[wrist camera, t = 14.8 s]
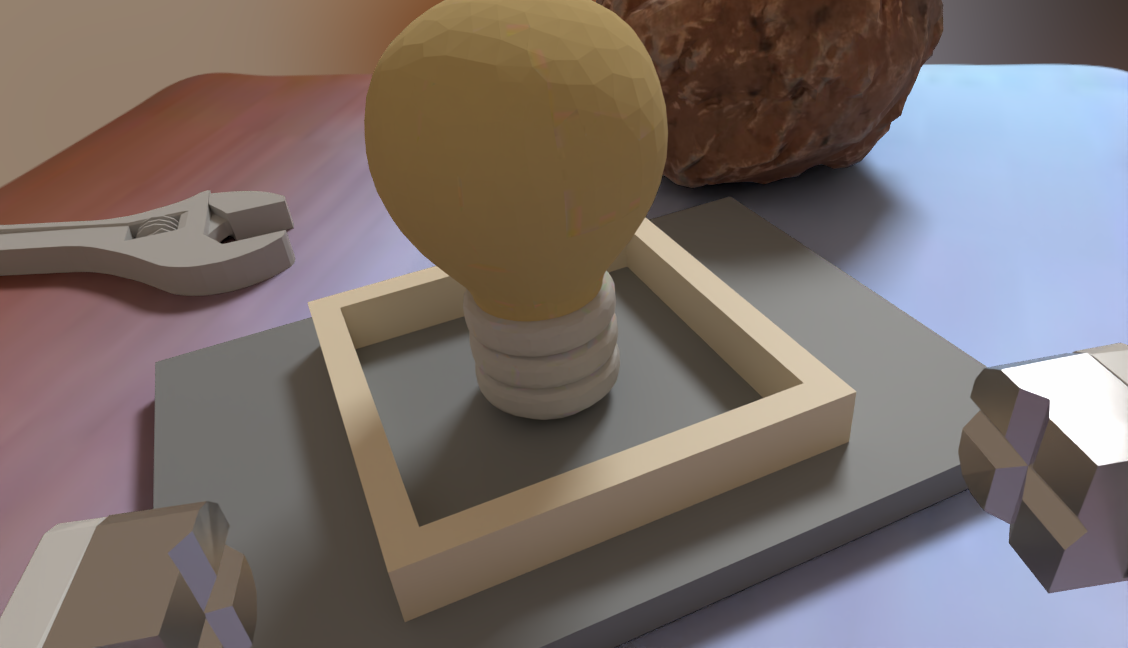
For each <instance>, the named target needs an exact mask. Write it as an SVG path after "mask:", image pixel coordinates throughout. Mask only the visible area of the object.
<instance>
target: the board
mask: <svg viewBox="0 0 1128 648" xmlns="http://www.w3.org/2000/svg"><path fill="white" fill-rule="evenodd" d="M607 272H608V273H609V274H610V276H611V278H612V280H613V282H614V286H615V296H616V307H615V314H616V317H617V327H618V339H617V345H618V348H619V354H620V368H619V373H618V377H617V381H616V383H615V384H614V386H613V387H612V389H611V390H610V391H609V392H608V393H607V394H606V395H605V396H604V397H603V398H602V399H601V400H599V401H598V402H596V403H595V404H593V405H592V406H590V407H589V408H586V409H584V410H582V411H580V412H578V413H576V414H574V415H571V416H567V417H564V418H558V419H549V420H538V419H531V418H524V417H519V416H514V415H511V414H509V413H506V412H503V411H502V410H500V409H498V408H497V407H495V406H494V405H492V404H491V403H490V402H489V401H488V400H487V399H486V397H485V396H484V395H483V393H482V392H481V390H480V388H479V385H478V382H477V378H476V372H475V360H474V358H473V356H472V351H471V347H470V342H469V329H468V327H467V324H466V321H465V317H464V311H463V298H464V293H465V291H466V288H465V287H464V286H463V285H461V284H460V283H458V282H457V281H456V280H454V279H453V278H452V277H450V276H449V275H448V274H446V273H445V272H444V271H442V270H441V269H440V268H439V267H437V266H434V267H431V268H427V269H424V270H420V271H417V272H413V273H410V274H406V275H403V276H399V277H395V278H392V279H388V280H385V281H381V282H378V283H374V284H371V285H367V286H364V287H360V288H357V289H353V290H350V291H346V292H343V293H339V294H336V295H332V296H328V297H325V298H321V299H318V300H314V301H311V302H308V305H309V309H310V312H311V315H312V317H311V318H307V319H304V320H300V321H297V322H293V323H290V324H286V325H283V326H279V327H276V328H273V329H269V330H266V331H262V332H259V333H255V334H252V335H248V336H245V337H241V338H238V339H234V340H231V341H228V342H224V343H221V344H217V345H214V346H210V347H207V348H203V349H200V350H196V351H193V352H189V353H186V354H183V355H179V356H176V357H172V358H169V359H165V360H162V361H158V362H156V365H155V429H154V493H153V509H156V508H163V507H170V506H177V505H183V504H190V503H197V502H204V501H209V502H214V503H218V505H219V506H220V508H221V510H222V512H223V514H224V516H225V517H226V519H227V521H228V523H229V525H230V527H229V531H228V535H227V539H226V543H225V544H226V545H227V546H229V547H231V548H233V549H235V550H237V551H239V552H240V553H242V554H244V555H245V557H246V560H247V562H248V564H249V566H250V568H251V570H252V574H253V578H254V582H255V587H256V591H257V622H256V628H255V633H254V639H253V644H252V646H251V647H250V648H614V647H616V646H618V645H621V644H623V643H625V642H627V641H630V640H632V639H634V638H636V637H639V636H641V635H643V634H645V633H647V632H650V631H652V630H654V629H656V628H659V627H661V626H663V625H665V624H668V623H670V622H672V621H674V620H676V619H679V618H681V617H683V616H685V615H688V614H690V613H692V612H694V611H697V610H699V609H701V608H703V607H705V606H708V605H710V604H712V603H714V602H717V601H719V600H721V599H723V598H725V597H728V596H730V595H732V594H734V593H737V592H739V591H741V590H743V589H746V588H748V587H750V586H752V585H754V584H757V583H759V582H761V581H763V580H766V579H768V578H770V577H772V576H775V575H777V574H779V573H781V572H783V571H786V570H788V569H790V568H792V567H795V566H797V565H799V564H801V563H804V562H806V561H808V560H810V559H812V558H815V557H817V556H819V555H821V554H824V553H826V552H828V551H830V550H833V549H835V548H837V547H839V546H841V545H844V544H846V543H848V542H850V541H853V540H855V539H857V538H859V537H862V536H864V535H866V534H868V533H870V532H873V531H875V530H877V529H879V528H882V527H884V526H886V525H888V524H890V523H893V522H895V521H897V520H899V519H902V518H904V517H906V516H908V515H911V514H913V513H915V512H917V511H919V510H922V509H924V508H926V507H928V506H931V505H933V504H935V503H937V502H940V501H942V500H944V499H946V498H948V497H951V496H953V495H955V494H957V493H960V492H962V491H964V490H966V489H969V488H968V486H967V484H966V482H965V480H964V478H963V476H962V471H961V465H960V460H959V454H958V449H959V444H960V439H961V433H962V428H963V427H964V426H965V425H966V424H967V423H968V422H969V421H970V420H971V419H972V418H973V417H974V416H975V415H976V414H977V413H978V412H979V411H980V410H979V409H978V408H977V406H976V405H975V403H974V402H973V401H972V399H971V398H970V396H971V392H972V389H973V385H974V381H975V379H976V377H977V376H978V375H979V374H980V373H981V371H982V370H983V369H984V368H987V367H986V366H985V365H983V364H982V363H980V362H979V361H977V360H976V359H974V358H973V357H971V356H970V355H968V354H967V353H965V352H964V351H962V350H961V349H959V348H958V347H956V346H955V345H953V344H952V343H950V342H949V341H947V340H946V339H944V338H943V337H941V336H940V335H938V334H937V333H935V332H934V331H932V330H931V329H929V328H928V327H926V326H925V325H923V324H922V323H920V322H919V321H917V320H916V319H914V318H913V317H911V316H910V315H908V314H907V313H905V312H904V311H902V310H901V309H899V308H897V307H896V306H894V305H893V304H891V303H890V302H888V301H887V300H885V299H884V298H882V297H881V296H879V295H878V294H876V293H875V292H873V291H872V290H870V289H869V288H867V287H866V286H864V285H863V284H861V283H860V282H858V281H857V280H855V279H854V278H852V277H851V276H849V275H848V274H846V273H845V272H843V271H842V270H840V269H839V268H837V267H836V266H834V265H833V264H831V263H830V262H828V261H827V260H825V259H824V258H822V257H821V256H819V255H818V254H816V253H815V252H813V251H812V250H810V249H809V248H807V247H806V246H804V245H803V244H801V243H800V242H798V241H797V240H795V239H794V238H792V237H791V236H789V235H788V234H786V233H785V232H783V231H782V230H780V229H779V228H777V227H776V226H774V225H773V224H771V223H770V222H768V221H767V220H765V219H764V218H762V217H761V216H759V215H758V214H756V213H755V212H753V211H752V210H750V209H749V208H747V207H746V206H744V205H743V204H741V203H740V202H738V201H737V200H735V199H734V198H732V197H731V196H729V197H726V198H723V199H719V200H716V201H712V202H709V203H705V204H702V205H698V206H695V207H691V208H688V209H684V210H681V211H678V212H674V213H671V214H667V215H664V216H660V217H657V218H653V219H650V220H648V219H647V218H646V217H645V219H644V220H643V222H642V223H641V225H640V226H639V228H638V229H637V231H636V233H635V234H634V236H633V237H632V239H631V240H630V242H629V243H628V244H627V245H626V247H625V248H624V249H623V250H622V252H621V253H620V254H619V255H618V257H617V258H616V259H615V260H614V262H613V263H612V264H611V265H610V267H609V268H608V269H607Z"/></svg>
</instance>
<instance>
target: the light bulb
mask: <svg viewBox="0 0 1128 648" xmlns="http://www.w3.org/2000/svg"><path fill="white" fill-rule="evenodd" d="M364 121H365V144H366V154H367V159H368V164H369V169H370V173H371V176H372V178H373V181H374V184H375V187H376V190H377V192H378V194H379V196H380V198H381V200H382V202H383V204H384V205H385V207H386V209H387V211H388V213H389V214H390V216H391V217H392V219H393V221H394V222H395V223H396V225H397V226H398V228H399V229H400V231H401V232H402V233H403V234H404V235H405V236H406V237H407V238H408V239H409V241H410V242H411V243H412V244H413V245H414V246H415V247H416V248H417V249H418V250H419V251H420V252H421V253H422V254H423V255H424V256H425V257H426V258H428V259H429V260H430V261H431V262H432V263H434V264H435V265H436V266H437V267H439V268H440V269H441V270H442V271H444V272H445V273H446V274H448V275H449V276H450V277H452V278H453V279H454V280H456V281H457V282H458V283H460V284H461V285H463V286H464V287H465V288H466V291H465V293H464V298H463V311H464V317H465V321H466V324H467V327H468V329H469V342H470V347H471V351H472V356H473V358H474V360H475V372H476V378H477V382H478V385H479V388H480V390H481V392H482V393H483V395H484V396H485V397H486V399H487V400H488V401H489V402H490V403H491V404H492V405H494V406H495V407H497V408H498V409H500V410H502V411H503V412H506V413H509V414H511V415H514V416H519V417H524V418H531V419H538V420H549V419H558V418H564V417H567V416H571V415H574V414H576V413H578V412H580V411H582V410H584V409H586V408H589V407H590V406H592V405H593V404H595V403H596V402H598V401H599V400H601V399H602V398H603V397H604V396H605V395H606V394H607V393H608V392H609V391H610V390H611V389H612V387H613V386H614V384H615V383H616V381H617V377H618V373H619V368H620V354H619V348H618V345H617V339H618V327H617V317H616V314H615V307H616V296H615V286H614V282H613V280H612V278H611V276H610V274H609V273H608V272H607V269H608V268H609V267H610V265H611V264H612V263H613V262H614V260H615V259H616V258H617V257H618V255H619V254H620V253H621V252H622V250H623V249H624V248H625V247H626V245H627V244H628V243H629V242H630V240H631V239H632V237H633V236H634V234H635V233H636V231H637V229H638V228H639V226H640V225H641V223H642V222H643V220H644V219H645V217H646V215H647V213H648V211H649V209H650V207H651V206H652V204H653V202H654V199H655V196H656V194H657V191H658V188H659V186H660V183H661V179H662V174H663V170H664V166H665V162H666V158H667V142H668V126H667V113H666V105H665V101H664V97H663V93H662V89H661V85H660V81H659V78H658V75H657V73H656V70H655V67H654V65H653V62H652V59H651V57H650V55H649V54H648V52H647V50H646V48H645V47H644V45H643V43H642V42H641V40H640V39H639V37H638V36H637V34H636V33H635V31H634V30H633V29H632V28H631V27H630V26H629V25H628V24H627V23H626V22H625V21H623V20H622V19H621V18H620V17H619V16H618V15H617V14H616V13H614V12H613V11H611V10H609V9H607V8H605V7H603V6H602V5H600V4H598V3H596V2H594V1H592V0H445V1H443V2H441V3H439V4H438V5H436V6H434V7H432V8H431V9H429V10H428V11H426V12H425V13H424V14H422V15H421V16H419V17H418V18H417V19H415V20H414V21H413V22H412V23H411V24H410V25H408V27H406V28H405V29H404V30H403V31H402V32H401V34H399V35H398V36H397V37H396V38H395V39H394V40H393V41H392V42H391V43H390V45H389V46H388V48H387V49H386V51H385V52H384V53H383V55H382V57H381V58H380V60H379V62H378V64H377V66H376V68H375V71H374V73H373V75H372V79H371V82H370V86H369V89H368V93H367V96H366V108H365V120H364Z"/></svg>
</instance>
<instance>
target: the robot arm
mask: <svg viewBox="0 0 1128 648" xmlns="http://www.w3.org/2000/svg"><path fill="white" fill-rule="evenodd" d="M970 398H971V399H972V401H973V402H974V403H975V405H976V406H977V408H978V409H979V410H980V411H979V412H978V413H977V414H976V415H975V416H974V417H973V418H972V419H971V420H970V421H969V422H968V423H967V424H966V425H965V426H964V427H963V428H962V433H961V439H960V444H959V449H958V454H959V460H960V465H961V471H962V476H963V478H964V480H965V482H966V484H967V486H968V488H969V491H970V493H971V494H972V495H973V497H974V498H975V499H976V501H977V502H978V503H979V505H980V506H981V508H982V509H983V510H984V511H985V512H987V513H989V514H991V515H993V516H995V517H997V518H999V519H1001V520H1003V521H1005V522H1007V523H1009V524H1010V532H1009V544H1010V545H1011V546H1012V548H1013V549H1014V550H1015V551H1016V553H1017V554H1018V555H1019V556H1020V558H1021V559H1022V560H1023V562H1024V563H1025V564H1026V565H1027V567H1028V568H1029V569H1030V570H1031V572H1032V573H1033V574H1034V576H1035V577H1036V578H1037V579H1038V581H1039V582H1040V583H1041V584H1042V586H1043V587H1044V588H1045V590H1046V591H1047V592H1048V593H1054V592H1060V591H1066V590H1072V589H1078V588H1085V587H1091V586H1097V585H1103V584H1109V583H1115V582H1122V581H1128V345H1126V344H1123V343H1117V344H1111V345H1106V346H1101V347H1095V348H1090V349H1084V350H1079V351H1075V352H1073V353H1065V354H1060V355H1054V356H1049V357H1043V358H1038V359H1032V360H1026V361H1021V362H1015V363H1010V364H1004V365H999V366H993V367H987V368H984V369H983V370H982V371H981V373H980V374H979V375H978V376H977V377H976V379H975V381H974V385H973V389H972V392H971V396H970ZM229 527H230V525H229V523H228V521H227V519H226V517H225V516H224V514H223V512H222V510H221V508H220V506H219V505H218V503H214V502H209V501H204V502H197V503H190V504H183V505H177V506H170V507H163V508H156V509H149V510H143V511H136V512H129V513H122V514H115V515H109V516H108V517H104V518H97V519H89V520H82V521H75V522H68V523H61V524H57V525H56V526H54V527H53V528H52V529H50V530H49V531H48V532H47V533H45V534H44V535H43V537H42V538H41V540H40V542H39V544H38V546H37V548H36V550H35V552H34V554H33V556H32V558H31V560H30V561H29V563H28V565H27V567H26V569H25V571H24V573H23V575H22V577H21V579H20V581H19V583H18V584H17V586H16V588H15V590H14V592H13V594H12V596H11V598H10V600H9V602H8V604H7V606H6V607H5V609H4V611H3V613H2V615H1V617H0V648H250V647H251V646H252V644H253V639H254V633H255V628H256V622H257V591H256V587H255V582H254V578H253V574H252V570H251V568H250V566H249V564H248V562H247V560H246V557H245V555H244V554H242V553H240V552H239V551H237V550H235V549H233V548H231V547H229V546H227V545H226V544H225V543H226V539H227V535H228V531H229Z"/></svg>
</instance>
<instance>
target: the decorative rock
mask: <svg viewBox="0 0 1128 648" xmlns="http://www.w3.org/2000/svg"><path fill="white" fill-rule="evenodd" d="M596 3H598V4H600V5H602V6H603V7H605V8H607V9H609V10H611V11H613V12H614V13H616V14H617V15H618V16H619V17H620V18H621V19H622V20H623V21H625V22H626V23H627V24H628V25H629V26H630V27H631V28H632V29H633V30H634V31H635V33H636V34H637V36H638V37H639V39H640V40H641V42H642V43H643V45H644V47H645V48H646V50H647V52H648V54H649V55H650V57H651V59H652V62H653V65H654V67H655V70H656V73H657V75H658V78H659V81H660V85H661V89H662V93H663V97H664V101H665V105H666V113H667V126H668V142H667V158H666V162H665V166H664V170H663V174H662V175H664V176H666V177H667V178H668V179H670V180H671V181H673V182H674V183H675V184H677V185H681V186H685V187H690V188H696V187H700V186H704V185H706V184H709V185H714V184H720V183H732V182H755V183H760V184H767V183H770V182H773V181H776V180H779V179H783V178H789V177H797V176H799V175H800V174H801V173H803V172H804V171H806V170H807V169H809V168H811V167H814V166H817V165H819V164H822V165H825V166H827V167H830V168H833V169H837V168H844V167H849V166H851V165H853V164H856V163H858V162H860V161H861V160H862V159H863V158H864V157H865V156H866V155H867V154H868V153H869V152H870V151H871V149H872V148H873V147H874V145H875V144H876V143H877V141H878V140H879V139H881V138H882V137H883V136H884V135H885V134H886V133H887V132H888V131H889V129H890V124H891V122H892V121H894V120H895V119H896V118H898V117H899V116H901V114H902V110H903V107H904V104H905V102H906V99H907V96H908V95H909V94H910V92H911V90H912V88H913V85H914V83H915V81H916V79H917V76H918V74H919V71H920V68H921V67H922V65H923V64H924V63H925V62H926V61H927V60H928V59H929V58H930V57H931V56H932V54H933V50H934V49H935V47H936V46H937V44H938V42H939V40H940V37H941V35H942V32H943V3H942V1H941V0H597V1H596Z"/></svg>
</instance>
